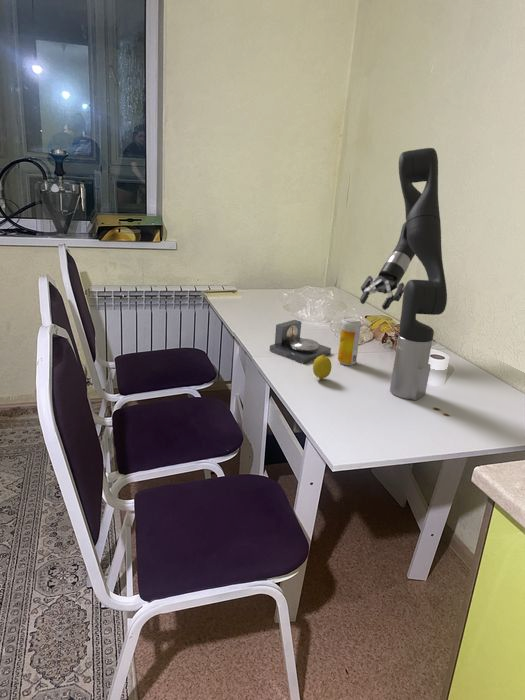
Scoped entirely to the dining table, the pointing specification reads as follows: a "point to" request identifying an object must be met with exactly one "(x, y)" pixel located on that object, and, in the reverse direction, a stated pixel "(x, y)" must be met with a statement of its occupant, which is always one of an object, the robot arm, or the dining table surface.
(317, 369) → the lemon
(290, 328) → the scale
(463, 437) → the dining table surface
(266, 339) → the dining table surface
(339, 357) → the beer can
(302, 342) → the pan
